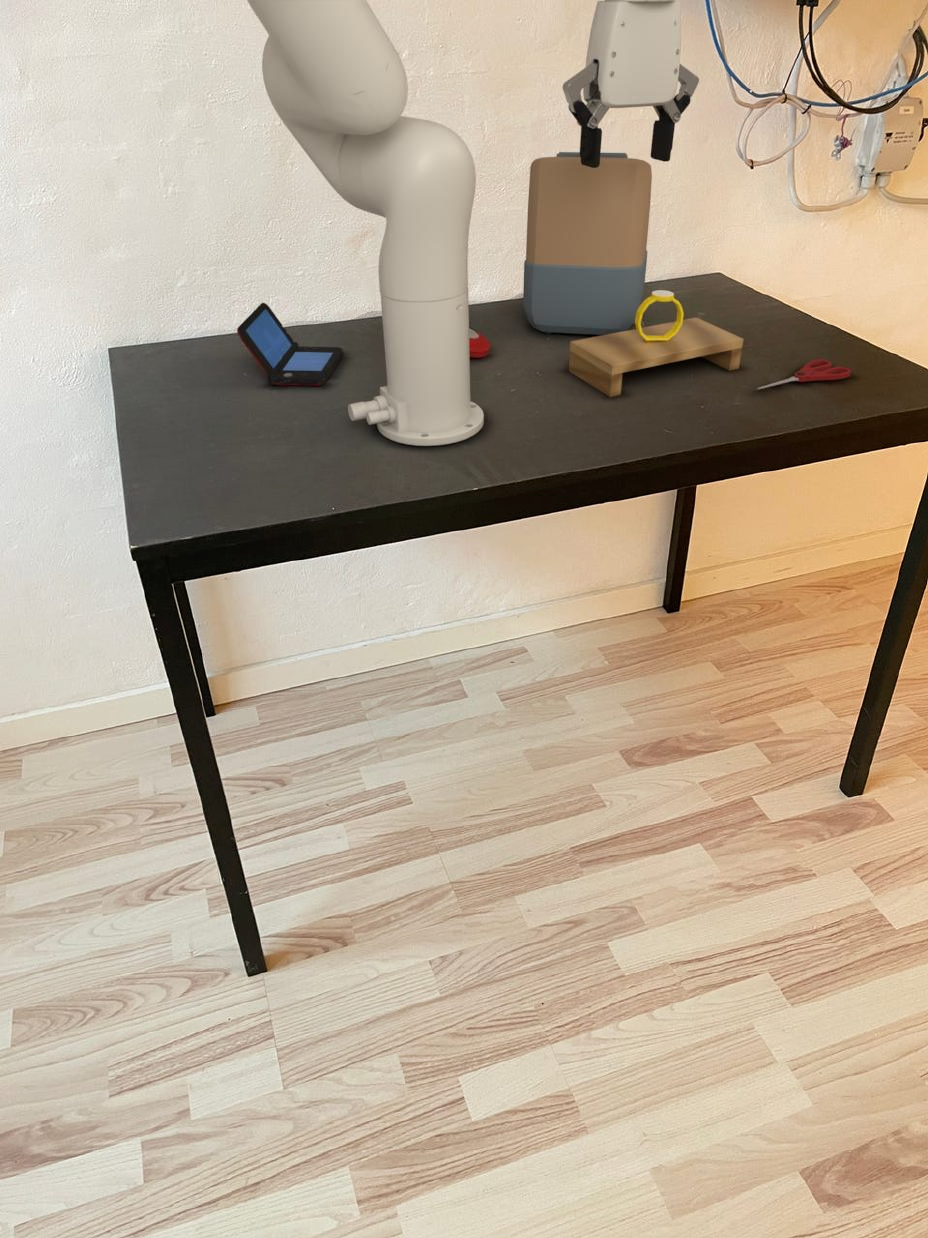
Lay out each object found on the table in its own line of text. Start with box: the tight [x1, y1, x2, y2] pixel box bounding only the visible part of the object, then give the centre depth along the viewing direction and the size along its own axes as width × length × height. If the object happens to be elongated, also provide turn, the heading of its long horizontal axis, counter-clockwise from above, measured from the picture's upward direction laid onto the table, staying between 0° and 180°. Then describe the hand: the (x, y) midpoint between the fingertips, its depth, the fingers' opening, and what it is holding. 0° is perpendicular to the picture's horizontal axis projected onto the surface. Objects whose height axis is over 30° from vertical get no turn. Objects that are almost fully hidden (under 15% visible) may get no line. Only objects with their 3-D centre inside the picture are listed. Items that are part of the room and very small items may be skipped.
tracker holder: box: [469, 326, 491, 359], centre depth 125 cm, size 12×4×10 cm
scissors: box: [756, 358, 852, 390], centre depth 113 cm, size 5×14×1 cm, turn 119°
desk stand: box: [568, 317, 744, 398], centre depth 116 cm, size 20×10×4 cm, turn 115°
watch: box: [634, 289, 684, 341], centre depth 113 cm, size 6×3×6 cm, turn 100°
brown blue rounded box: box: [522, 151, 653, 336], centre depth 127 cm, size 17×17×23 cm
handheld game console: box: [236, 302, 344, 387], centre depth 118 cm, size 12×11×7 cm
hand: (625, 162), depth 105 cm, fingers open, 9 cm apart
